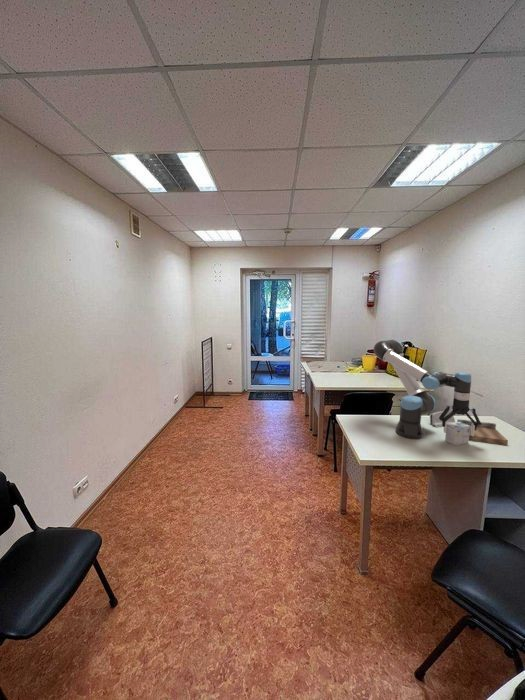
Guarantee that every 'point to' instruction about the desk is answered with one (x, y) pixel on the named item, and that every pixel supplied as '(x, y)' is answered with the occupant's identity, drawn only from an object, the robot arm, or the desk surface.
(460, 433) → the light bulb box
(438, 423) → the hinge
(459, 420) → the walnut stand
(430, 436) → the desk surface
